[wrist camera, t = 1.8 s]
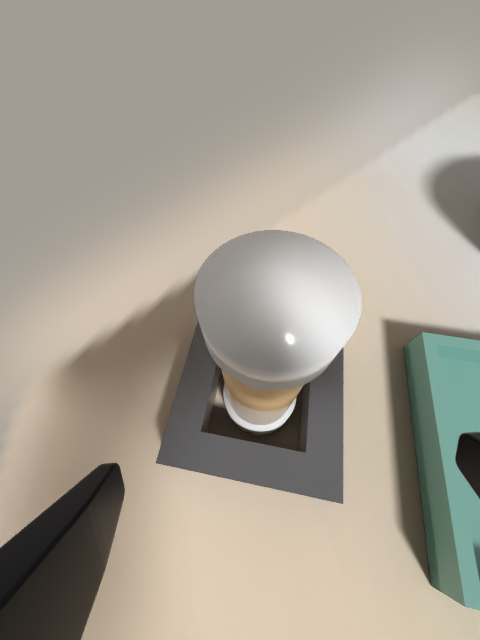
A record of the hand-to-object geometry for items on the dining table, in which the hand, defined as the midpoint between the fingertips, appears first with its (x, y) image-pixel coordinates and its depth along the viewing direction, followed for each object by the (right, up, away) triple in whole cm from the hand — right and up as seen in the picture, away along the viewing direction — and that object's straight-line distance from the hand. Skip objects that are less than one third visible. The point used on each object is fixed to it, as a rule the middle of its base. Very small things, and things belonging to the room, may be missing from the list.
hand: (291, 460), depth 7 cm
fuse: (0, -2, +12) cm, 12 cm away
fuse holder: (0, -2, +12) cm, 12 cm away
